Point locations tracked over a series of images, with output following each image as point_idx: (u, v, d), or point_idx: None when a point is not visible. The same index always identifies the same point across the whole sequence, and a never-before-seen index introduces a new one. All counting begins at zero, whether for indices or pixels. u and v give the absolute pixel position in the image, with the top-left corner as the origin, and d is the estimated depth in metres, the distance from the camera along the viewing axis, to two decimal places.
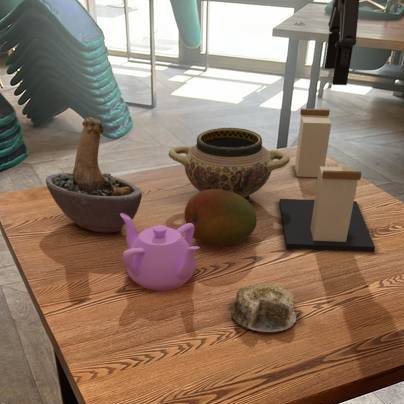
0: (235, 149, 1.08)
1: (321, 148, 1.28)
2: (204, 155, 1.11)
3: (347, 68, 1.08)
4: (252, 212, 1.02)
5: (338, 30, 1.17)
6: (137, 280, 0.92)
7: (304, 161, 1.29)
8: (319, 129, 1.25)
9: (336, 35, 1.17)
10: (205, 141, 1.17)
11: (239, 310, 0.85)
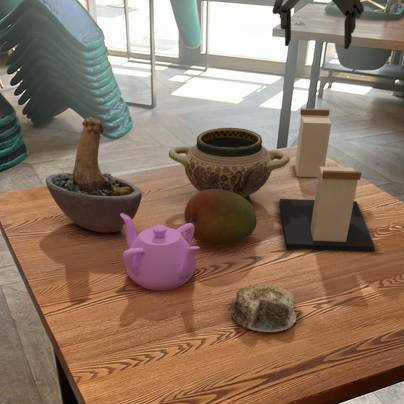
0: (235, 149, 1.08)
1: (321, 148, 1.28)
2: (204, 155, 1.11)
3: (287, 26, 1.26)
4: (252, 212, 1.02)
5: None
6: (137, 280, 0.92)
7: (304, 160, 1.29)
8: (319, 129, 1.25)
9: (346, 18, 1.28)
10: (205, 141, 1.17)
11: (239, 310, 0.85)
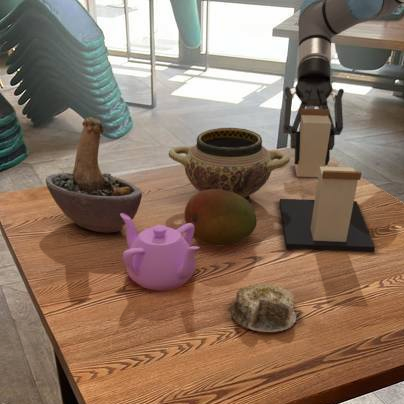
0: (235, 149, 1.08)
1: (321, 148, 1.28)
2: (204, 155, 1.11)
3: (296, 147, 1.29)
4: (252, 212, 1.02)
5: None
6: (137, 280, 0.92)
7: (304, 160, 1.29)
8: (319, 129, 1.25)
9: None
10: (205, 141, 1.17)
11: (239, 310, 0.85)
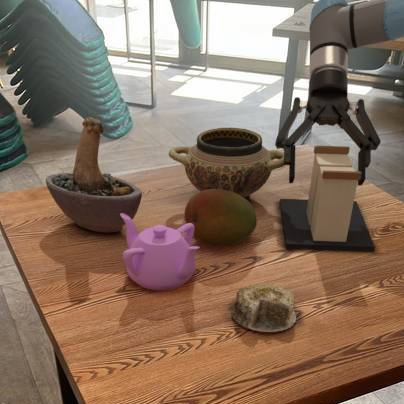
0: (235, 149, 1.08)
1: None
2: (204, 154, 1.11)
3: (290, 163, 1.11)
4: (252, 212, 1.02)
5: (364, 146, 1.11)
6: (137, 280, 0.92)
7: None
8: None
9: (360, 151, 1.12)
10: (205, 141, 1.17)
11: (239, 310, 0.85)
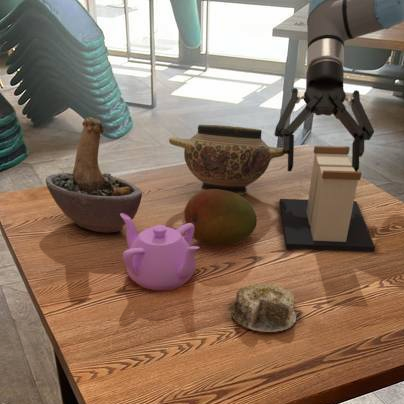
0: (243, 130, 1.11)
1: None
2: (211, 136, 1.11)
3: (289, 152, 1.15)
4: (252, 212, 1.02)
5: (358, 136, 1.16)
6: (137, 280, 0.92)
7: None
8: None
9: (354, 141, 1.16)
10: None
11: (239, 310, 0.85)
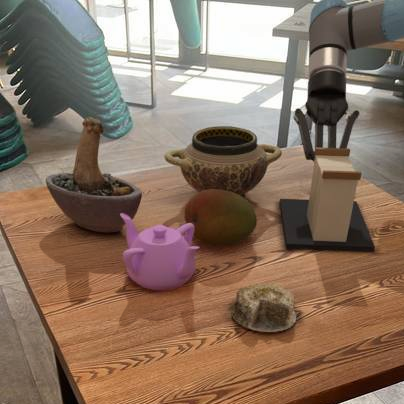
0: (240, 147, 1.09)
1: None
2: (208, 156, 1.10)
3: None
4: (252, 212, 1.02)
5: None
6: (137, 280, 0.92)
7: None
8: None
9: None
10: None
11: (239, 310, 0.85)
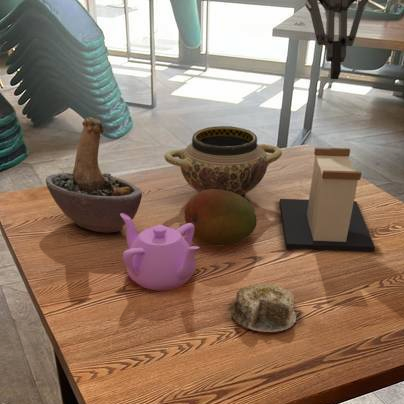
0: (240, 147, 1.09)
1: None
2: (208, 156, 1.10)
3: (333, 58, 1.16)
4: (252, 212, 1.02)
5: (340, 39, 1.16)
6: (137, 280, 0.92)
7: None
8: None
9: None
10: None
11: (240, 310, 0.85)
